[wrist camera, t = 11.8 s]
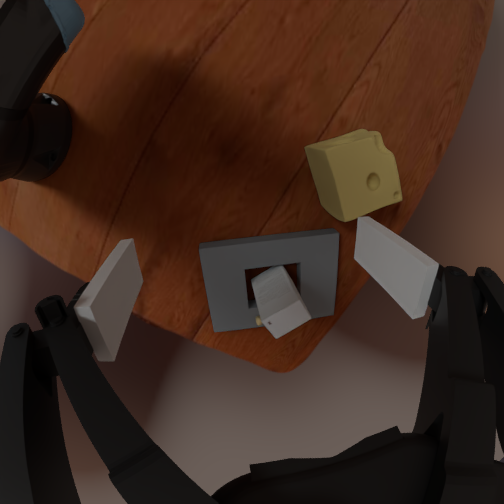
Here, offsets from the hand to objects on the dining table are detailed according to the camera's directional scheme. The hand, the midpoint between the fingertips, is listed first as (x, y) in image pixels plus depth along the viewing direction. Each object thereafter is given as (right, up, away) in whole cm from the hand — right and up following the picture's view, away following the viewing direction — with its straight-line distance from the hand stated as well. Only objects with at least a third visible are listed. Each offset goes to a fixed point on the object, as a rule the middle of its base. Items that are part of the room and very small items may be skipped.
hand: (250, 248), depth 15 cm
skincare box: (+3, -5, +32) cm, 33 cm away
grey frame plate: (+3, -5, +32) cm, 32 cm away
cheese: (+14, +13, +26) cm, 32 cm away
